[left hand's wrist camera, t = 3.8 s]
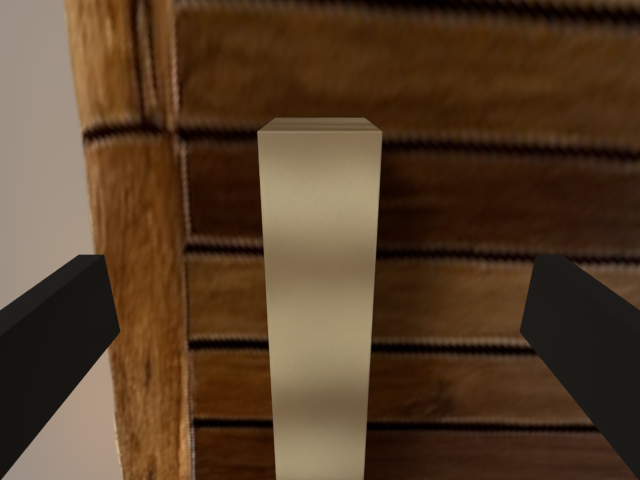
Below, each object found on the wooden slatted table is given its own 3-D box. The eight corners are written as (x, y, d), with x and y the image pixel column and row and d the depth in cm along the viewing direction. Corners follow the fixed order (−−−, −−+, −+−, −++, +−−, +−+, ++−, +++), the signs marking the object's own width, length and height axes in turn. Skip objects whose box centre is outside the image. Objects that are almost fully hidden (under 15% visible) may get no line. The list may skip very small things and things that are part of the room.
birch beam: (274, 117, 27) (257, 130, 19) (365, 117, 27) (382, 130, 19) (288, 484, 39) (281, 579, 31) (351, 484, 39) (358, 579, 31)
